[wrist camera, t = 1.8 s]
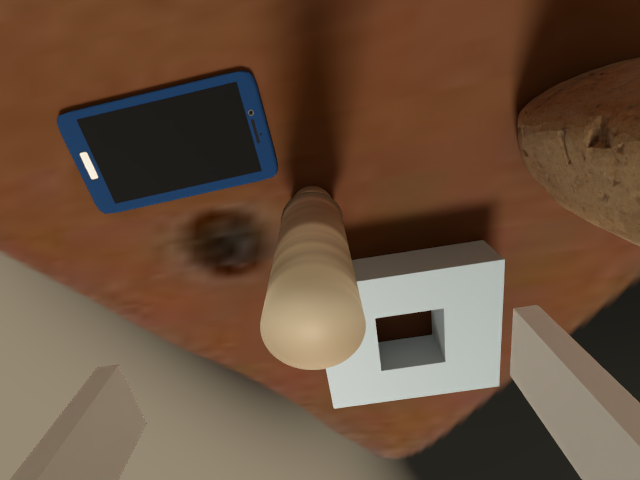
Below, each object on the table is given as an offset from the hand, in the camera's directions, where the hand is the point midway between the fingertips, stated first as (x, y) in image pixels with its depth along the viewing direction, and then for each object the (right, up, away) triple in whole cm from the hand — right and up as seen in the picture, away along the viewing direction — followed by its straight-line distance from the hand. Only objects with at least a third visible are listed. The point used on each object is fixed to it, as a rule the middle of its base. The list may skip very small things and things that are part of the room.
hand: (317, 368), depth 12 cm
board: (+7, -2, +19) cm, 21 cm away
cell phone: (-10, +11, +14) cm, 21 cm away
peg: (-1, +7, +15) cm, 17 cm away
